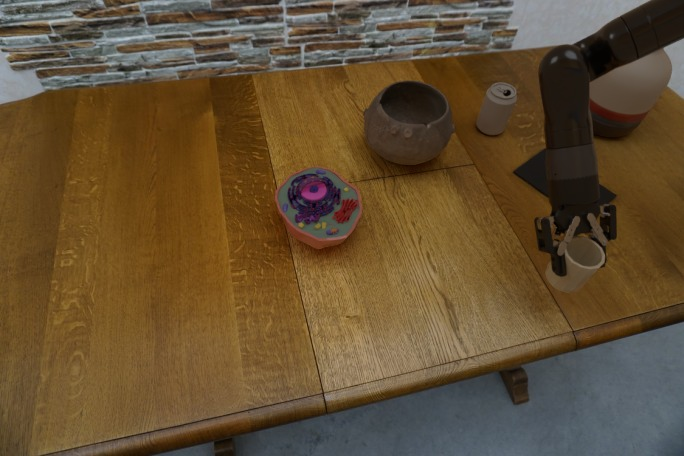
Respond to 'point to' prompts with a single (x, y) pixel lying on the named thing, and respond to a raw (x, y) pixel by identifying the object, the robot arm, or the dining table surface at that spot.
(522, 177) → the mat
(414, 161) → the clay pot
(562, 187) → the robot arm
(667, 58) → the vase
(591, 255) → the cup
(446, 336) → the dining table surface
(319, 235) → the cell model
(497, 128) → the can
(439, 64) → the dining table surface
